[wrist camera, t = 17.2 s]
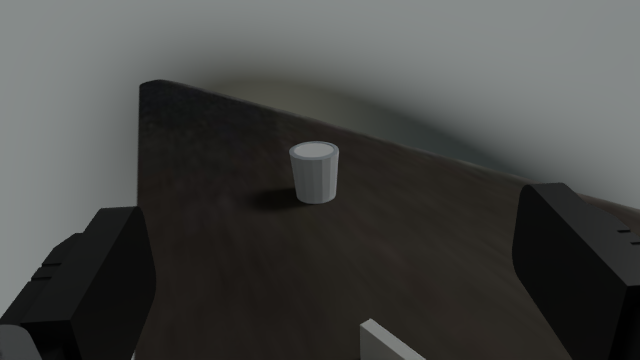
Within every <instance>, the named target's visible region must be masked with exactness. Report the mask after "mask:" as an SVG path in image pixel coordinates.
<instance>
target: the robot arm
mask: <svg viewBox="0 0 640 360" xmlns="http://www.w3.org/2000/svg"><path fill="white" fill-rule="evenodd" d="M512 259H513V265H514V269H515V272H516V274H517V276H518V278H519V280H520V281H521V283H522V284H523V286H524V287H525V289H526V290H527V292H528V293H529V295H530V296H531V298H532V299H533V301H534V302H535V304H536V305H537V307H538V308H539V310H540V311H541V313H542V314H543V316H544V317H545V319H546V320H547V322H548V323H549V325H550V326H551V328H552V329H553V331H554V332H555V334H556V335H557V337H558V338H559V340H560V341H561V343H562V344H563V346H564V347H565V349H566V350H567V352H568V353H569V355H570V356H571V358H572V359H573V360H640V238H639V237H638V236H637V235H636V234H635V233H631V232H630V229H629V228H628V227H627V226H626V225H624V224H623V223H622V222H621V221H620V220H619V219H618V218H616V217H615V216H614V215H612V214H610V213H608V212H606V211H604V210H602V209H600V208H598V207H596V206H594V205H592V204H587V203H586V202H585V201H583V200H582V199H581V198H580V197H579V196H578V195H577V194H576V193H575V192H573V191H572V190H571V189H570V188H569V187H568V186H567V185H565V184H564V183H547V184H529V185H525V186H524V187H523V188H522V190H521V193H520V197H519V204H518V211H517V218H516V225H515V232H514V239H513V246H512ZM155 291H156V271H155V266H154V261H153V256H152V251H151V247H150V242H149V237H148V232H147V228H146V223H145V218H144V215H143V212H142V210H141V208H140V207H138V206H133V207H116V208H101V209H100V210H99V211H98V212H97V214H96V215H95V216H94V218H93V219H92V221H91V222H90V223H89V225H88V226H87V228H86V229H85V231H84V232H83V233H75V234H73V235H72V236H70V237H69V238H68V239H66V240H65V241H63V242H62V243H60V244H59V245H57V246H56V247H55V248H53V250H52V251H51V252H50V254H49V255H48V257H47V258H46V259H45V260H44V262H43V263H42V267H40V268H38V270H37V271H36V272H35V273H34V275H33V276H32V278H31V281H30V282H28V283H27V284H26V285H25V287H24V288H23V289H22V291H21V292H20V293H19V295H18V296H17V297H16V299H15V300H14V301H13V303H12V304H11V305H10V307H9V308H8V309H7V310H6V312H5V313H4V314H3V316H2V317H1V318H0V360H131V358H132V356H133V353H134V350H135V348H136V345H137V342H138V340H139V337H140V334H141V332H142V329H143V326H144V324H145V321H146V319H147V316H148V313H149V311H150V308H151V305H152V303H153V300H154V296H155Z"/></svg>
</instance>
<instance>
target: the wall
mask: <svg viewBox="0 0 640 360" xmlns="http://www.w3.org/2000/svg"><path fill="white" fill-rule="evenodd" d="M360 353H361V360H426V359H424V358H423V357H422V356H420V355H419V354H418V353H416V352H415V351H414V350H412V349H411V348H410V347H408V346H407V345H406V344H404V343H403V342H402V341H400V340H399V339H398V338H396V337H395V336H393V335H392V334H391V333H389V332H388V331H387V330H385V329H384V328H383V327H381V326H380V325H379V324H377V323H376V322H375V321H373V320H372V319H369V320H368V321H366V322H364V323H363V324H361V325H360Z"/></svg>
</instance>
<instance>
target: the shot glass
mask: <svg viewBox="0 0 640 360" xmlns="http://www.w3.org/2000/svg"><path fill="white" fill-rule="evenodd" d="M289 152H290V158H291V164H292V170H293V176H294V182H295V188H296V194H297V198H298V199H299V200H300V201H302V202H305V203H310V204H319V203H325V202H328V201H330V200H332V199H333V198H334V197H335V195H336V183H337V169H338V155H339V149H338V147H337V146H335V145H334V144H331V143H327V142H317V141H315V142H305V143H301V144H298V145H296V146H294V147H292V148H291V149H290V151H289Z"/></svg>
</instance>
